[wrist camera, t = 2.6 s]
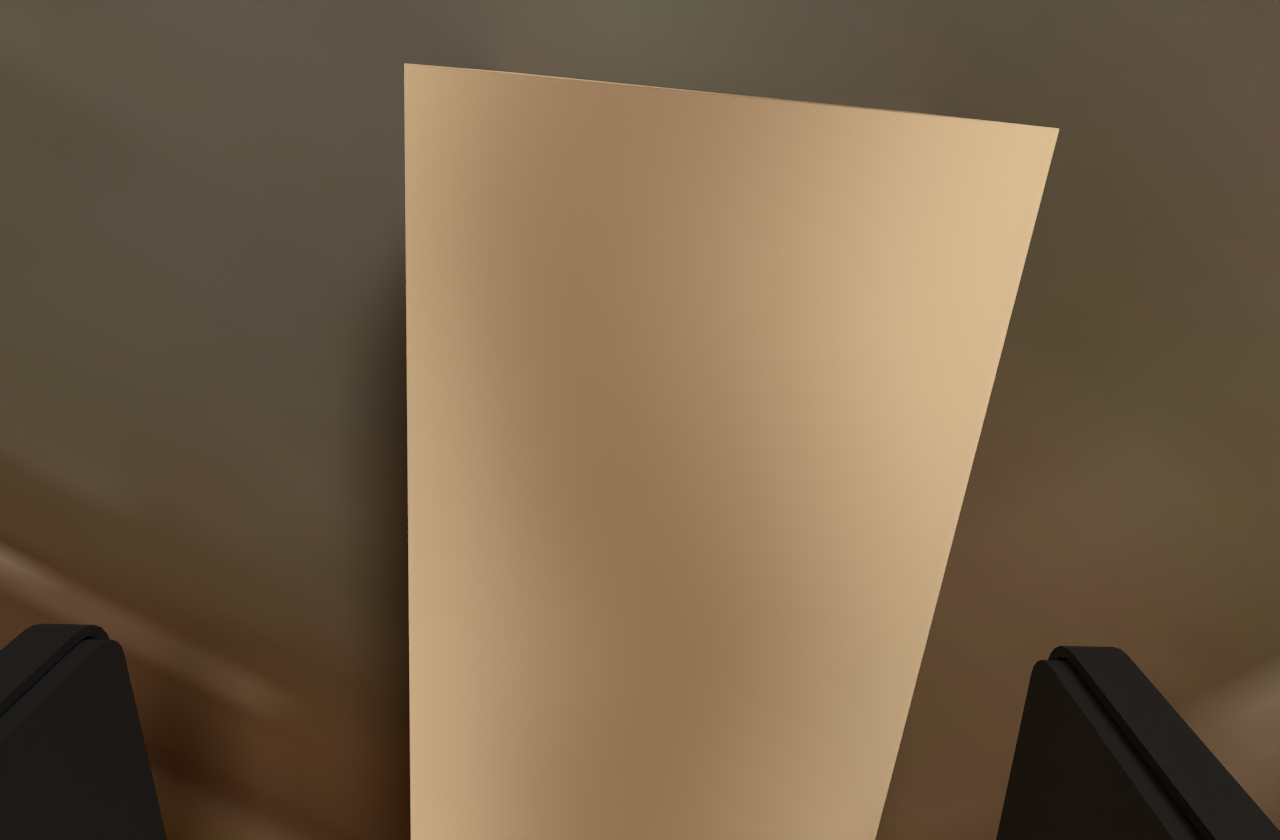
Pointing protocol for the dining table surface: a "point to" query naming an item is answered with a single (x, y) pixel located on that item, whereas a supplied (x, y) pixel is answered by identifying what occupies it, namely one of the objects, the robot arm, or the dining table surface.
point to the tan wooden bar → (686, 445)
